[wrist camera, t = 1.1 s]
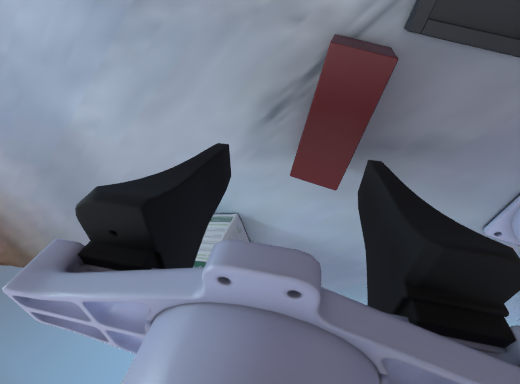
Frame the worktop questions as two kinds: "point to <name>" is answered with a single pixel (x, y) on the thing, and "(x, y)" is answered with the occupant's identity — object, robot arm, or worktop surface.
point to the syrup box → (219, 235)
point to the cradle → (470, 23)
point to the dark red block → (341, 108)
